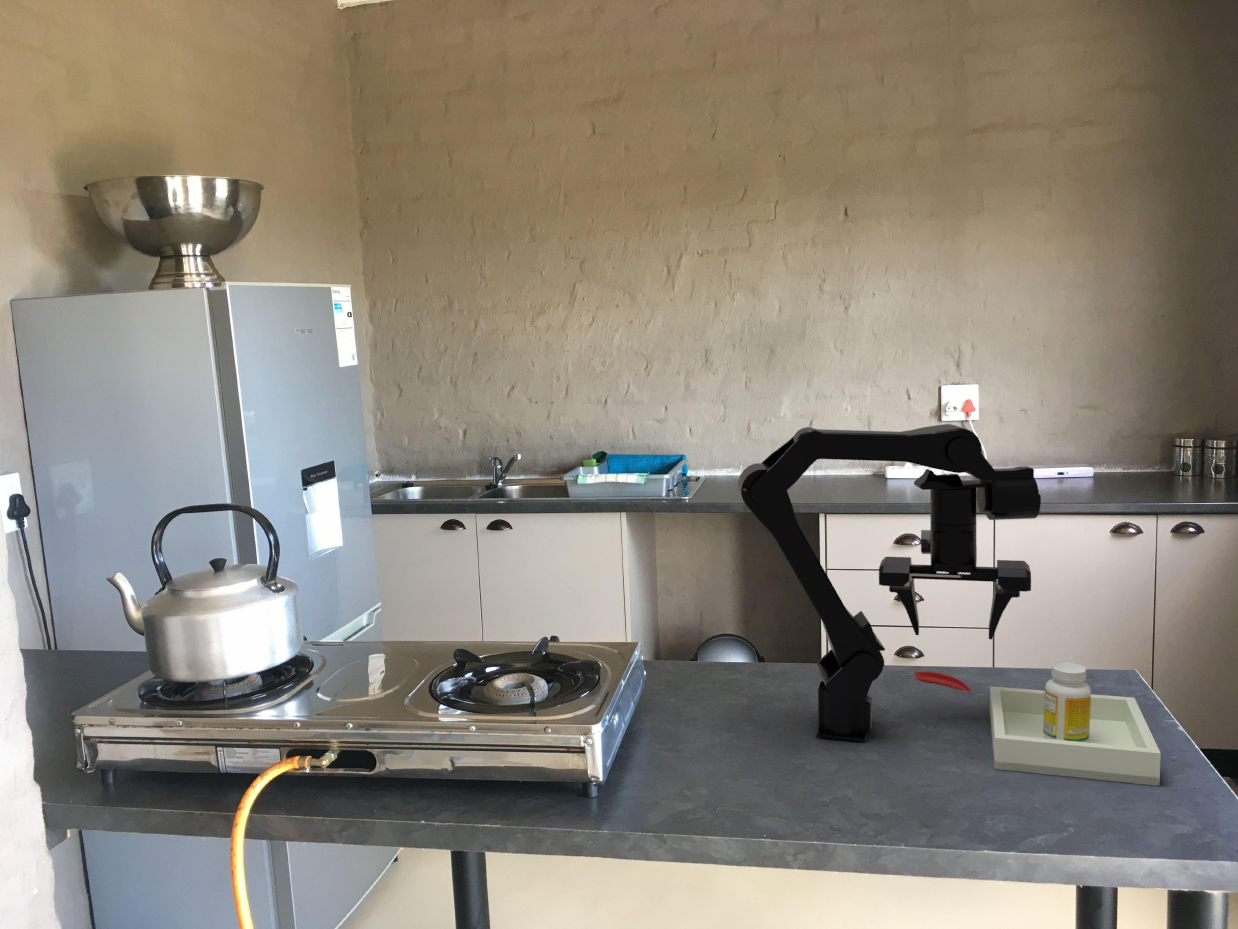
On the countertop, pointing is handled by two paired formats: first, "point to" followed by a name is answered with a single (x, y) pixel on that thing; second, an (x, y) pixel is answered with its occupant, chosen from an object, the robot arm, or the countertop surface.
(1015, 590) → the robot arm
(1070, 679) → the supplement bottle
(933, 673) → the cayenne pepper
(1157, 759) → the tray
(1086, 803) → the countertop surface
